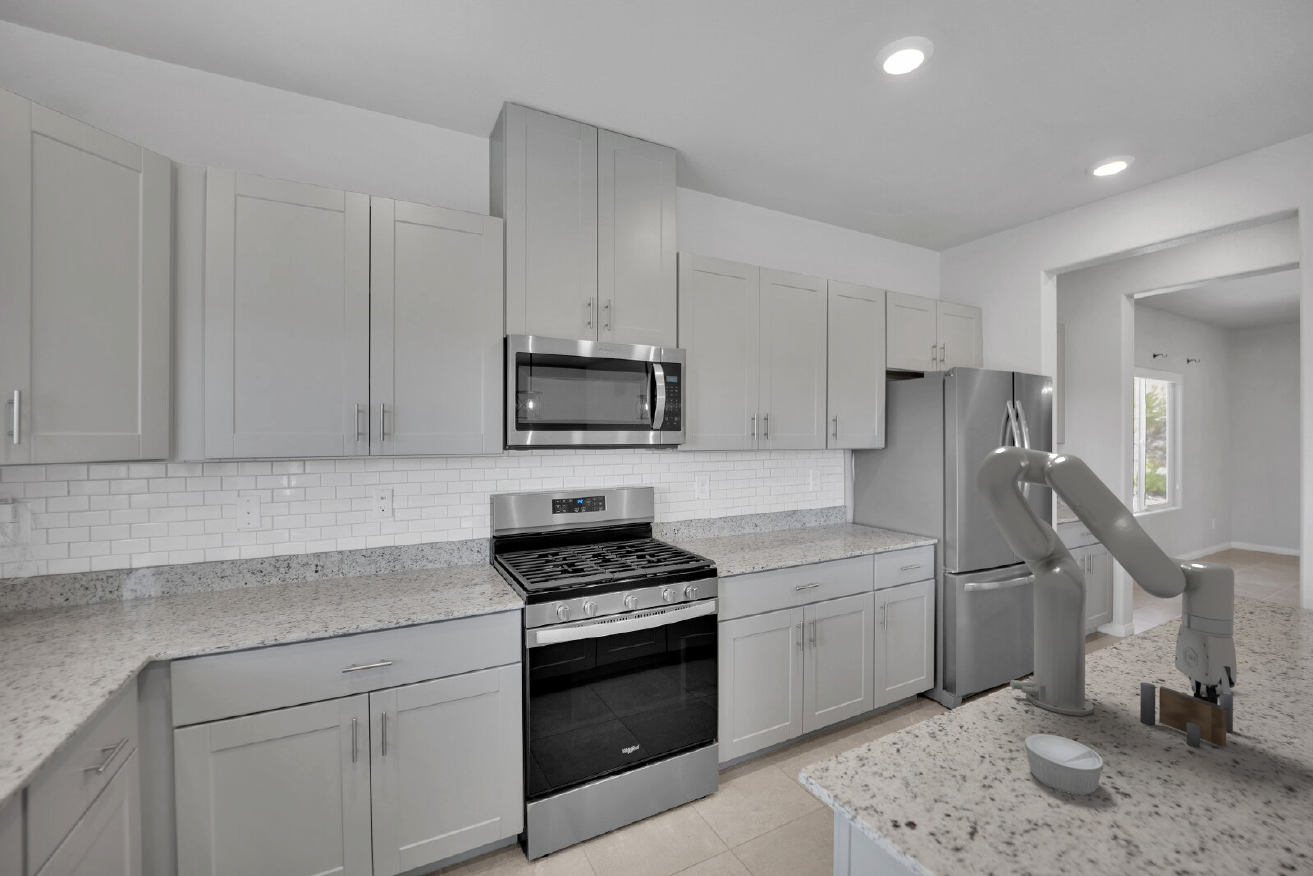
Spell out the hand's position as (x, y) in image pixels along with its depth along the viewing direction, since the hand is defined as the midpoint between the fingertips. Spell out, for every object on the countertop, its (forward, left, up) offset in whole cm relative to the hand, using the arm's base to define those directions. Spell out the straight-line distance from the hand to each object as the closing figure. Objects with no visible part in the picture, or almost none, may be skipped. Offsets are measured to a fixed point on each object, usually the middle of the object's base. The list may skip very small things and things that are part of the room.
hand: (1205, 714), depth 115 cm
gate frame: (-6, 0, -4) cm, 8 cm away
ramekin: (-36, -23, -5) cm, 43 cm away
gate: (-3, -1, -4) cm, 5 cm away
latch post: (+6, +4, -5) cm, 9 cm away
